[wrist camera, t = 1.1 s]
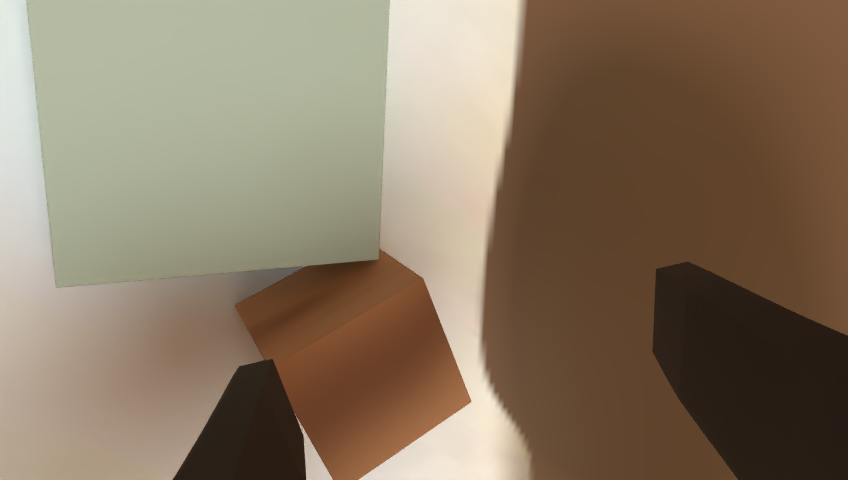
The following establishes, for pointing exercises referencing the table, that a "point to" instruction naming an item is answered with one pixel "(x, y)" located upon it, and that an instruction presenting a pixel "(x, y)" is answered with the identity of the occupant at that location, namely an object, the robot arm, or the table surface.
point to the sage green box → (209, 134)
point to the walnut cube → (358, 358)
